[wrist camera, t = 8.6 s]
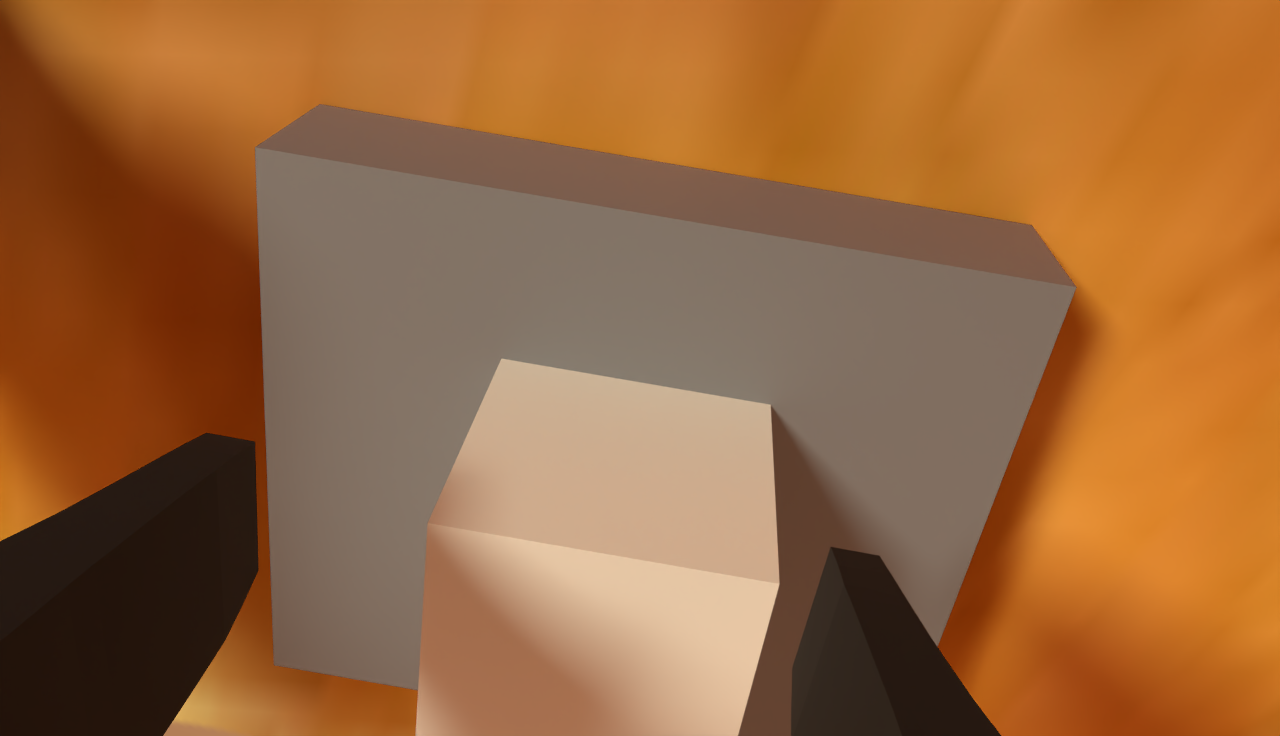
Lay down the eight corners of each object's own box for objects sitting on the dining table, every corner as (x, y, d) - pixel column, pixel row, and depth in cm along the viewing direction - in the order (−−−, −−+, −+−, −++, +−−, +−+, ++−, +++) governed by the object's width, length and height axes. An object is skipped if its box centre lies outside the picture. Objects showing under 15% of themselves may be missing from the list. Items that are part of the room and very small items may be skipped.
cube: (482, 569, 21) (413, 765, 17) (501, 358, 19) (427, 522, 14) (720, 610, 21) (715, 818, 17) (770, 404, 19) (779, 583, 14)
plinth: (322, 578, 26) (273, 665, 23) (320, 104, 20) (254, 147, 17) (874, 674, 25) (888, 772, 23) (1031, 225, 20) (1076, 287, 17)
